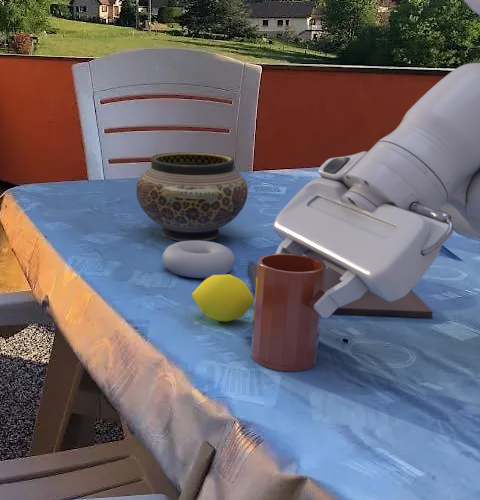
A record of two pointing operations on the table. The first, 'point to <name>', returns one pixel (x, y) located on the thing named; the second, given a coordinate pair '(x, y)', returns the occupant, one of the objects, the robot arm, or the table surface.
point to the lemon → (223, 297)
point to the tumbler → (286, 311)
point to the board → (370, 300)
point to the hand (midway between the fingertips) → (291, 295)
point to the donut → (198, 259)
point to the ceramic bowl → (191, 194)
